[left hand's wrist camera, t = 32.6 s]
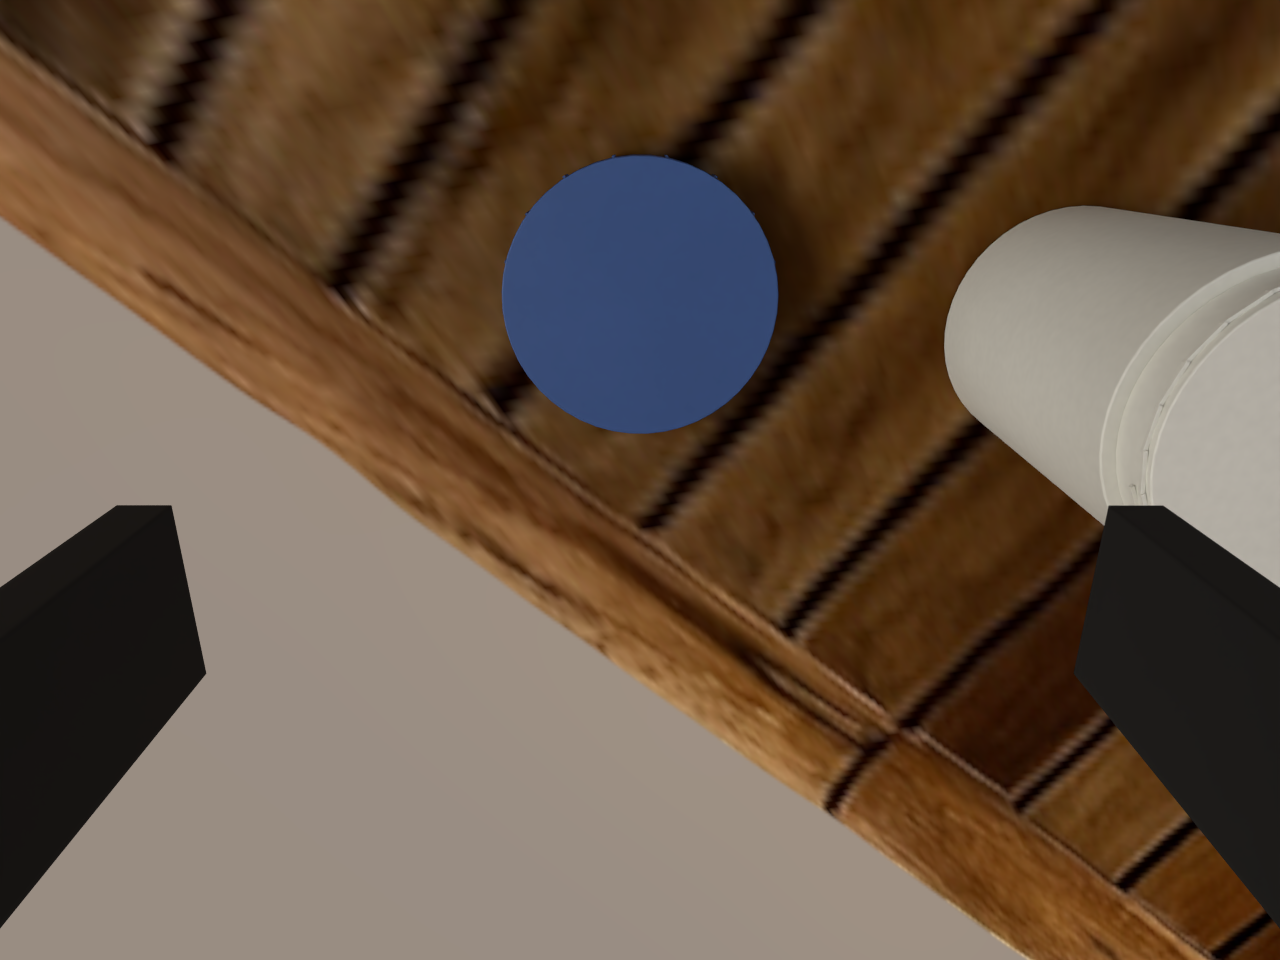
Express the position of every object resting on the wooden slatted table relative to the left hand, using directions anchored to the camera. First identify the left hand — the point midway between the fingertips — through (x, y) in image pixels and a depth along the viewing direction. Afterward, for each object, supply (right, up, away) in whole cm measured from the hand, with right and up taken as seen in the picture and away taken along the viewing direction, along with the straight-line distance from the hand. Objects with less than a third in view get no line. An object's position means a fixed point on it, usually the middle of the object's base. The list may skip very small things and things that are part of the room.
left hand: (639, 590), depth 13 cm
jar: (+18, +8, +25) cm, 32 cm away
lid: (0, +9, +23) cm, 25 cm away
